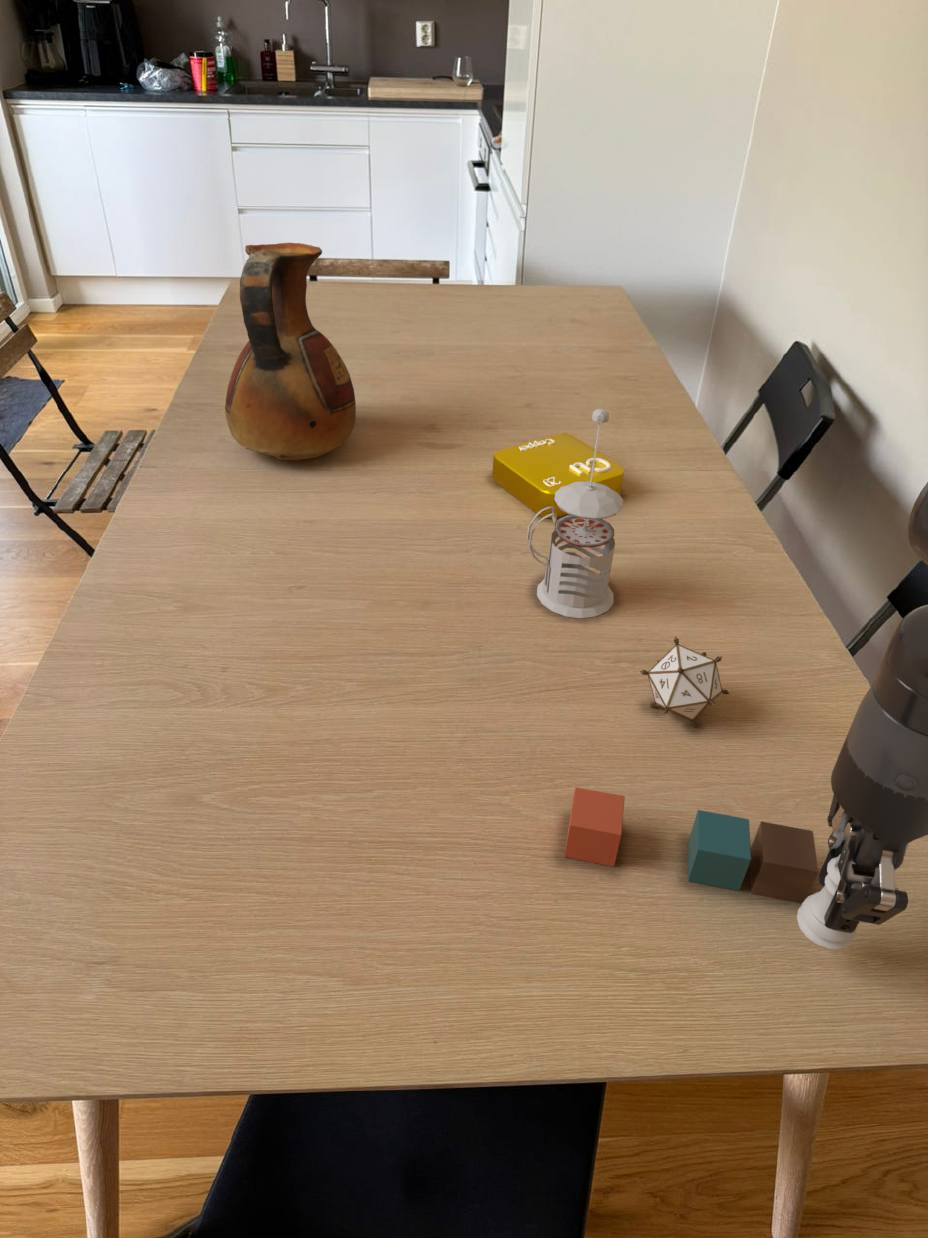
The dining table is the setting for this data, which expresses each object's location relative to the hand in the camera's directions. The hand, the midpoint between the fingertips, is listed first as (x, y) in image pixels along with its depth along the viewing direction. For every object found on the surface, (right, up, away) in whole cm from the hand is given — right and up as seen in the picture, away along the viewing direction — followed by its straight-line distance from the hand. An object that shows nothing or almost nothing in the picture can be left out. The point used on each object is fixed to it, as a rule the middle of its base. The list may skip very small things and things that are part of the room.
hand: (835, 904), depth 69 cm
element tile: (-15, +42, +64) cm, 78 cm away
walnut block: (-1, -1, +10) cm, 10 cm away
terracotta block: (-17, +2, +12) cm, 21 cm away
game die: (-6, +12, +27) cm, 30 cm away
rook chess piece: (0, -3, +2) cm, 3 cm away
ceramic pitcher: (-56, +50, +72) cm, 104 cm away
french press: (-16, +25, +43) cm, 52 cm away
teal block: (-7, 0, +11) cm, 13 cm away
